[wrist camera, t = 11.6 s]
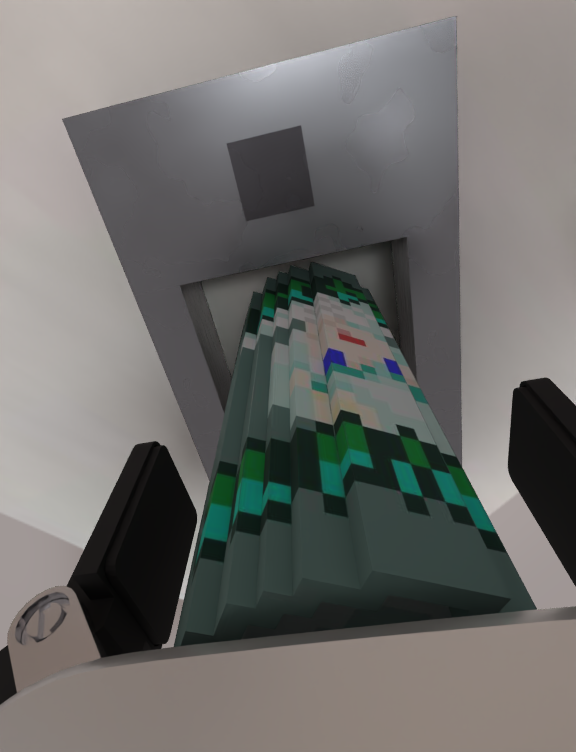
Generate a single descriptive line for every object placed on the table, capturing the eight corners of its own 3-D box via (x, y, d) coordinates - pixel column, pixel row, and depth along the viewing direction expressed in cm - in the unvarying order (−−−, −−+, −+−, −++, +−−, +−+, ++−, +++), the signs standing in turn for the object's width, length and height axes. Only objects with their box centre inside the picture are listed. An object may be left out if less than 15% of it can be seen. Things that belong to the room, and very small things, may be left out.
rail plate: (425, 36, 15) (457, 14, 12) (443, 469, 24) (463, 511, 22) (98, 121, 16) (60, 118, 13) (240, 501, 26) (235, 545, 23)
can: (397, 288, 19) (636, 624, 6) (347, 398, 22) (437, 786, 9) (266, 247, 18) (216, 537, 5) (232, 367, 21) (145, 749, 8)
